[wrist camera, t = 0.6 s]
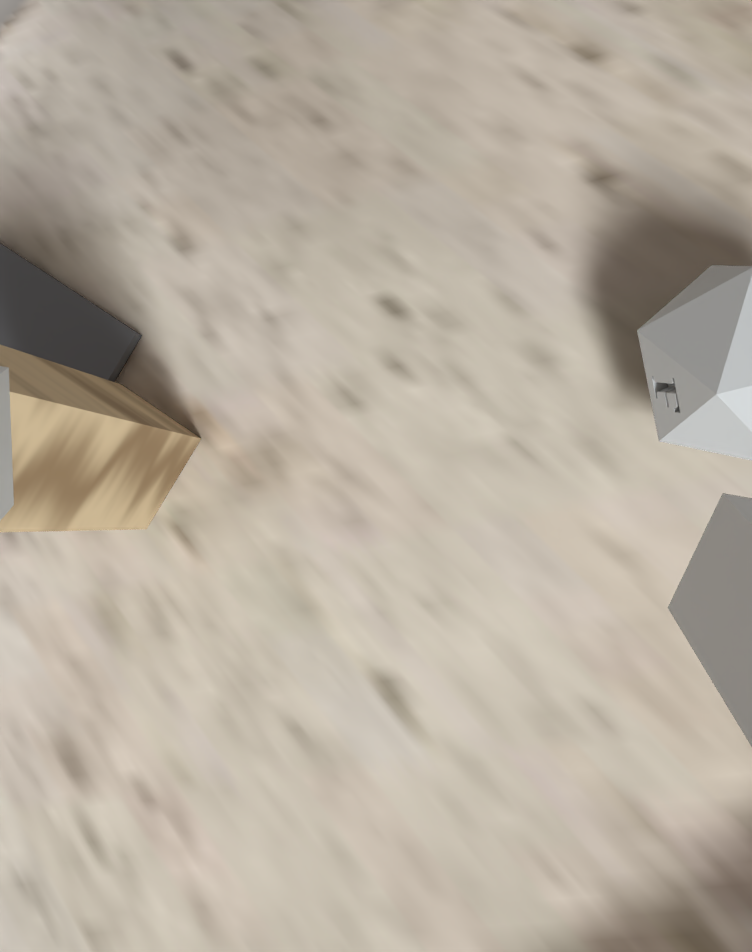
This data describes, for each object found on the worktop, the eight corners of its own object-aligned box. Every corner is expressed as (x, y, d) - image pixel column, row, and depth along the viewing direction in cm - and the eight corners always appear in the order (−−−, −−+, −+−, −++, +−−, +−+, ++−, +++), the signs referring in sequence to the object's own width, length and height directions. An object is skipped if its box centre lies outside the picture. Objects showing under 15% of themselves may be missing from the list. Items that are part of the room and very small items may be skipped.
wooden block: (121, 384, 41) (-106, 309, 27) (201, 438, 40) (9, 391, 25) (68, 472, 42) (-184, 446, 27) (146, 529, 40) (-75, 533, 26)
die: (663, 271, 36) (586, 311, 29) (870, 221, 30) (836, 257, 23) (691, 426, 38) (626, 497, 31) (891, 407, 32) (865, 489, 25)
